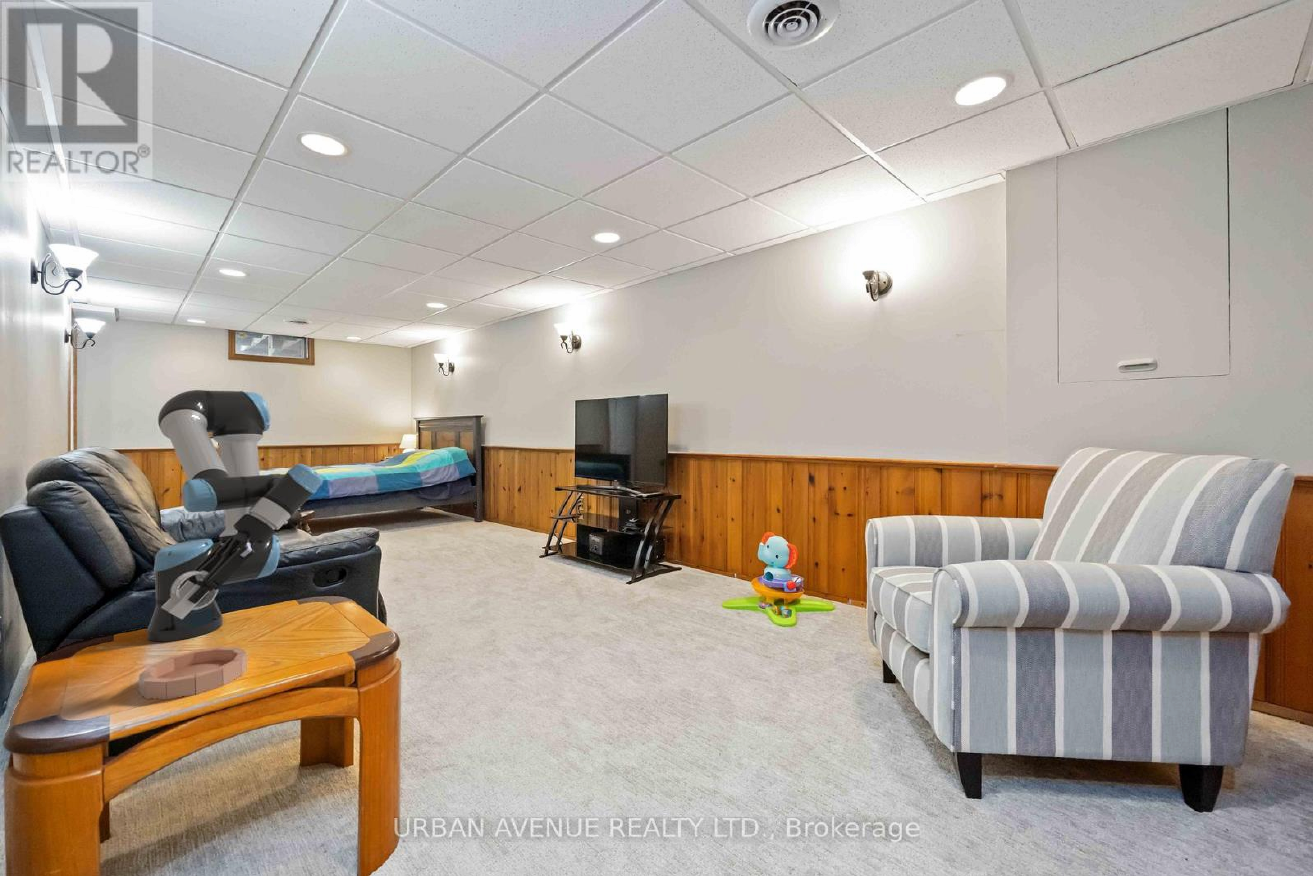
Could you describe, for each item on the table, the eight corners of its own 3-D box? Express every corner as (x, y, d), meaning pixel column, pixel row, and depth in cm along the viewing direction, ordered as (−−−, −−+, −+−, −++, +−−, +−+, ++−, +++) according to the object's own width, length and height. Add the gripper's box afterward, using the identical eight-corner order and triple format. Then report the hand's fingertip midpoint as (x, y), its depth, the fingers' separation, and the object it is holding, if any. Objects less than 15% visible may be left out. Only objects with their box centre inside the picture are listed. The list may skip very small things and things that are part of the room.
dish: (131, 684, 115) (130, 667, 115) (229, 656, 129) (229, 641, 129) (154, 707, 105) (154, 689, 105) (258, 674, 119) (257, 658, 119)
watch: (224, 618, 119) (224, 568, 119) (180, 631, 112) (180, 578, 111) (208, 614, 121) (208, 565, 121) (164, 627, 114) (164, 574, 114)
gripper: (291, 535, 124) (202, 630, 111) (260, 528, 134) (175, 614, 121) (263, 515, 119) (167, 612, 106) (233, 509, 130) (141, 597, 116)
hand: (171, 613), depth 114 cm, fingers closed on watch, 5 cm apart
